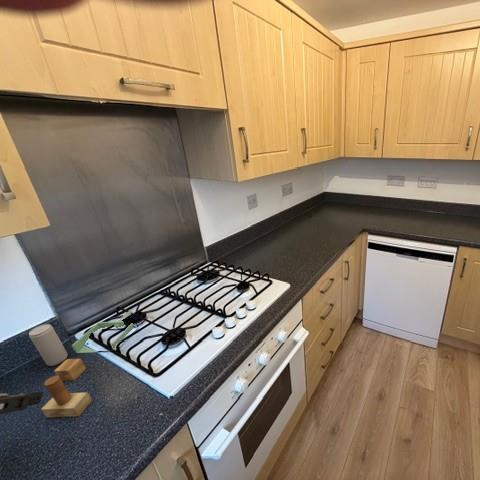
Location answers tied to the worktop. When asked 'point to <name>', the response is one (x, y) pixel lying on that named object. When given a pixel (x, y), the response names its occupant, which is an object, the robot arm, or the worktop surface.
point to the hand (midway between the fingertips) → (20, 398)
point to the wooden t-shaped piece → (64, 400)
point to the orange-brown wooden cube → (70, 369)
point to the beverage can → (48, 344)
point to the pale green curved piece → (80, 344)
